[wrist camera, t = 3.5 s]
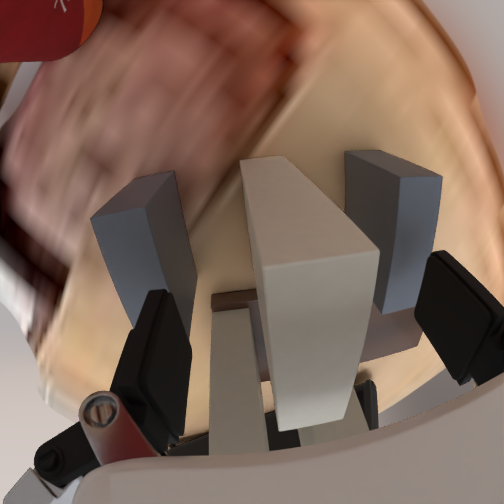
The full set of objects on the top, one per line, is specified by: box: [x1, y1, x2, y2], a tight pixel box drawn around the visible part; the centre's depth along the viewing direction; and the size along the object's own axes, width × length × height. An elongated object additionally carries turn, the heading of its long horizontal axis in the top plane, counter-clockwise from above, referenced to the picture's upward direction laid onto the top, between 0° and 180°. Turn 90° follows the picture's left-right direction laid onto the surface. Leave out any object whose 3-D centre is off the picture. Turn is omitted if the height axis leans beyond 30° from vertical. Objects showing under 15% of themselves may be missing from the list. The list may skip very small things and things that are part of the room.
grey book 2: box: [345, 150, 443, 315], centre depth 14 cm, size 7×2×6 cm, turn 6°
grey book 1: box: [90, 171, 197, 339], centre depth 14 cm, size 7×2×6 cm, turn 6°
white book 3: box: [298, 387, 370, 447], centre depth 15 cm, size 7×2×11 cm, turn 6°
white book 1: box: [209, 308, 269, 456], centre depth 15 cm, size 7×2×11 cm, turn 6°
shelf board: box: [211, 289, 423, 382], centre depth 21 cm, size 9×17×1 cm, turn 96°
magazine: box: [165, 379, 379, 456], centre depth 24 cm, size 17×3×30 cm
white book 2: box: [239, 155, 380, 431], centre depth 12 cm, size 7×2×11 cm, turn 6°
